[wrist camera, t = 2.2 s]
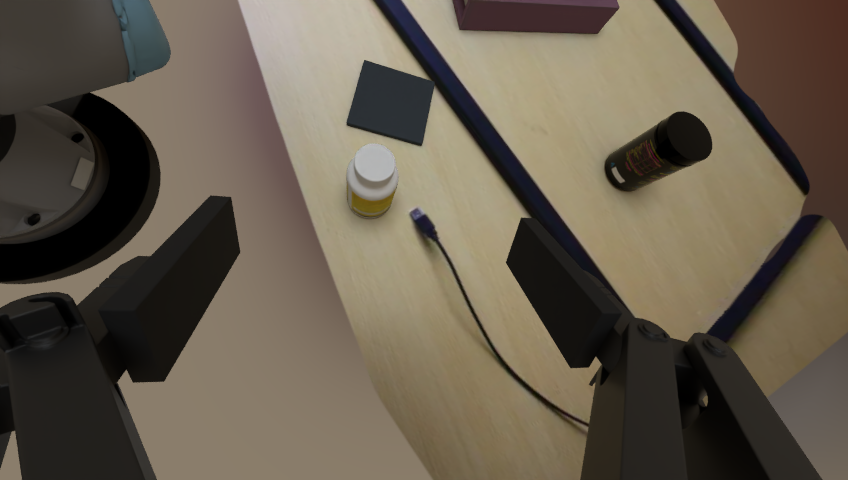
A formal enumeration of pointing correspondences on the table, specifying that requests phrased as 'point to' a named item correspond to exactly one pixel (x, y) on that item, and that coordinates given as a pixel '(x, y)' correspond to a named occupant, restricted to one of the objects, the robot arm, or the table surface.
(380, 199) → the supplement bottle
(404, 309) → the table surface
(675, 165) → the supplement container
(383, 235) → the table surface
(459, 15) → the book
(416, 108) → the mat
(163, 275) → the robot arm
